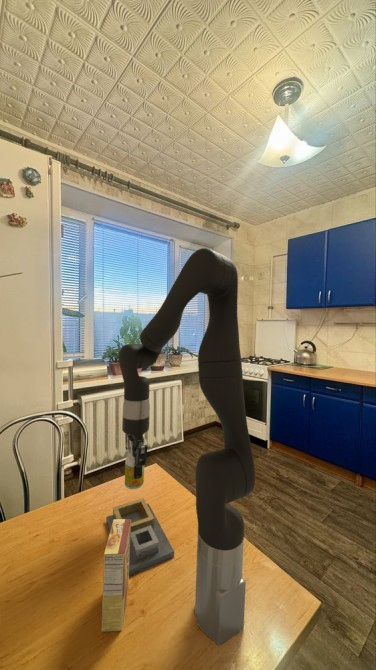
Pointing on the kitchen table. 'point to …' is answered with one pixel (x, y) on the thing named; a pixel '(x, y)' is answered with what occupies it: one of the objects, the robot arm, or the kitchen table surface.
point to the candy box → (116, 575)
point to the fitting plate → (143, 536)
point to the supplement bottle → (132, 473)
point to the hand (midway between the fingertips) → (134, 471)
